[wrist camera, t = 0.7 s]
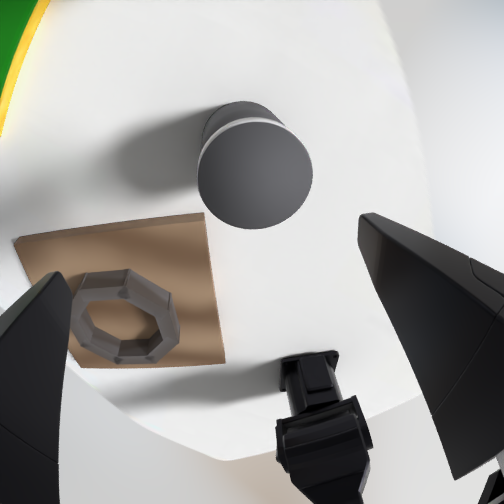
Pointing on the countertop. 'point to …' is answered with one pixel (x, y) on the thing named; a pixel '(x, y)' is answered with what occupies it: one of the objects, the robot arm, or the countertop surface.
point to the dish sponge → (15, 43)
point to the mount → (134, 291)
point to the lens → (252, 167)
